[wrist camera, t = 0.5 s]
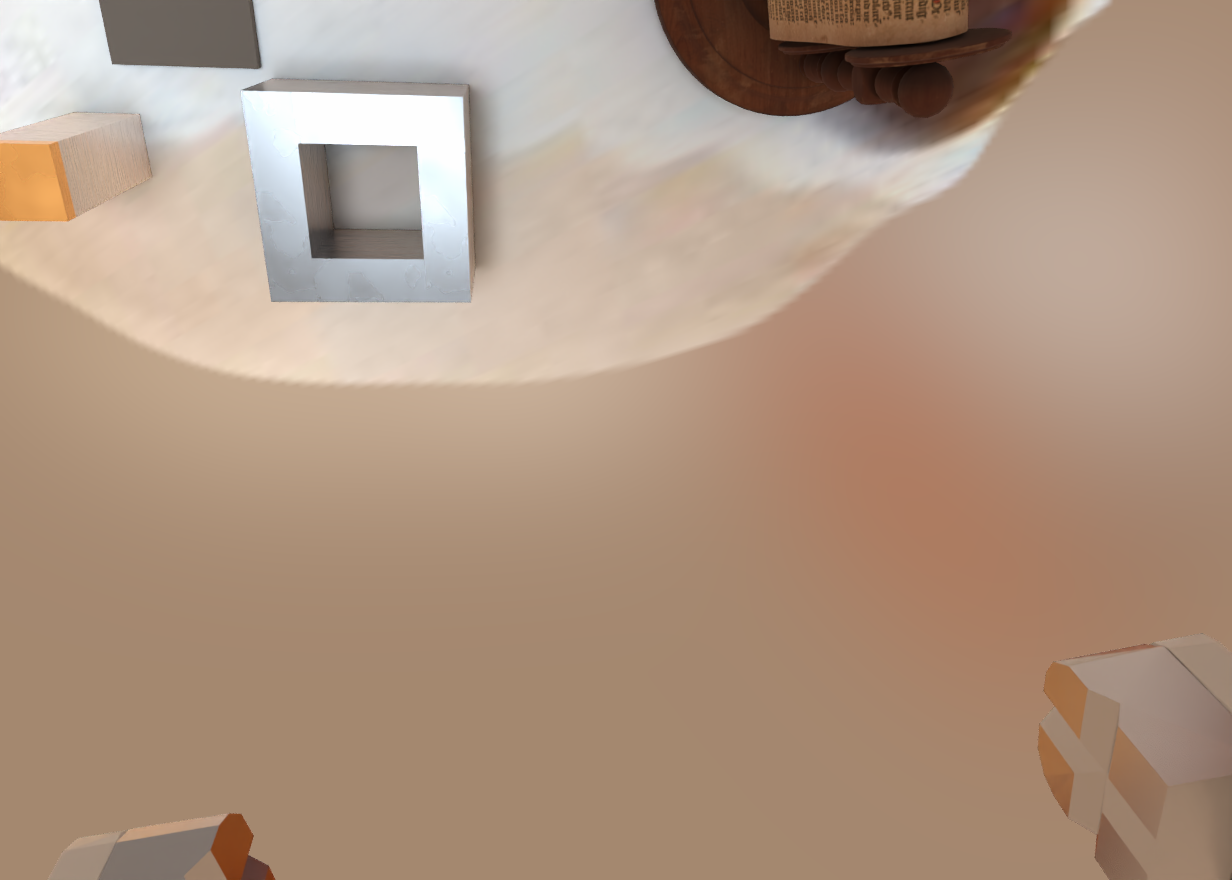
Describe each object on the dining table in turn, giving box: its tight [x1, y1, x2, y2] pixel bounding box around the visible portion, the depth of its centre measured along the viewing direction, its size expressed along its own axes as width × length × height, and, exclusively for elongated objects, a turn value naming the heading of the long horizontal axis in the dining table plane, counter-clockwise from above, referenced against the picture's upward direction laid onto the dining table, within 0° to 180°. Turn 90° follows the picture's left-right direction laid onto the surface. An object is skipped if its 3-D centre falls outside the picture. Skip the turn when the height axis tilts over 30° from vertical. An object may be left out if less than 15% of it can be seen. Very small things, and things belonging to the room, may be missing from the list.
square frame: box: [241, 79, 475, 302], centre depth 45 cm, size 10×10×6 cm
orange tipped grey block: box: [0, 112, 152, 221], centre depth 42 cm, size 3×3×10 cm
